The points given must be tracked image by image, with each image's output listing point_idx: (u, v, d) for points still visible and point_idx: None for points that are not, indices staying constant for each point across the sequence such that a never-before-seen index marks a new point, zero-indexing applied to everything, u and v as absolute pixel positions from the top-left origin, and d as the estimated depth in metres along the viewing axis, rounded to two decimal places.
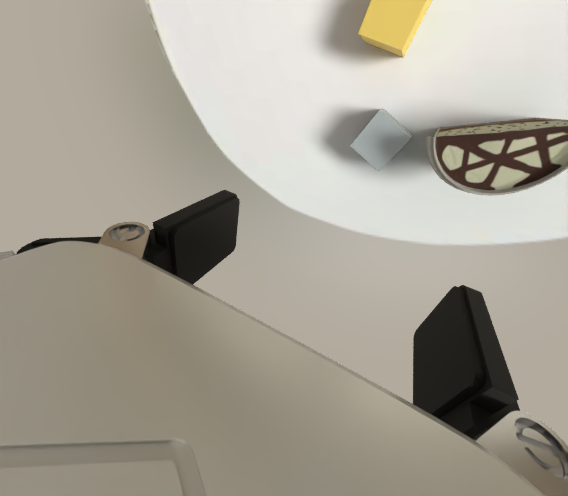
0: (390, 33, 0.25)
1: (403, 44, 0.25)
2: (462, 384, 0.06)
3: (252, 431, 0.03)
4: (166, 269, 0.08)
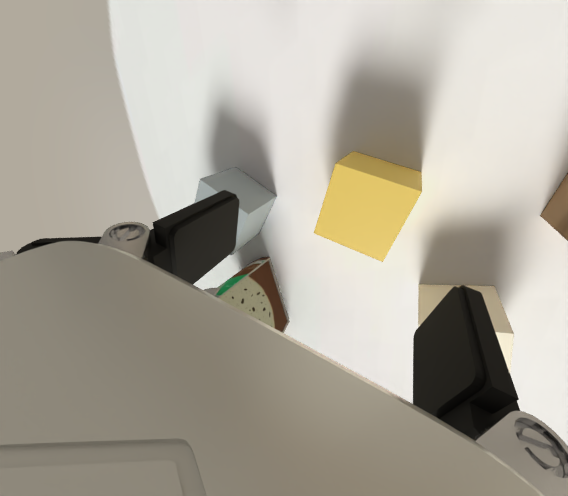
0: (333, 215, 0.16)
1: (320, 234, 0.17)
2: (462, 384, 0.06)
3: (252, 431, 0.03)
4: (166, 269, 0.08)
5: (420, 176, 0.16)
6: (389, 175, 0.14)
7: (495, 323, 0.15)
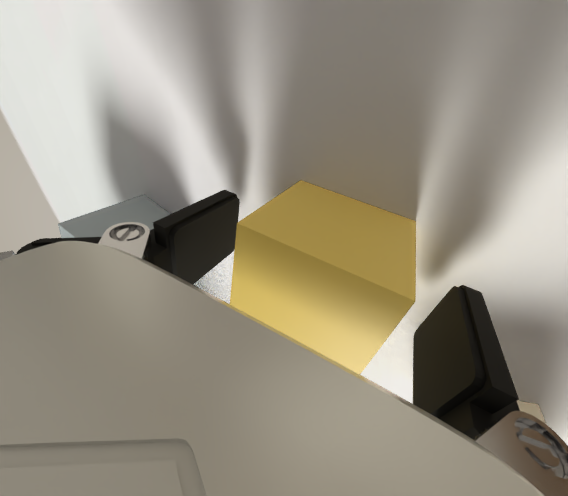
0: (251, 308, 0.09)
1: None
2: (462, 384, 0.06)
3: (252, 431, 0.03)
4: (166, 269, 0.08)
5: (413, 236, 0.08)
6: (349, 246, 0.07)
7: None
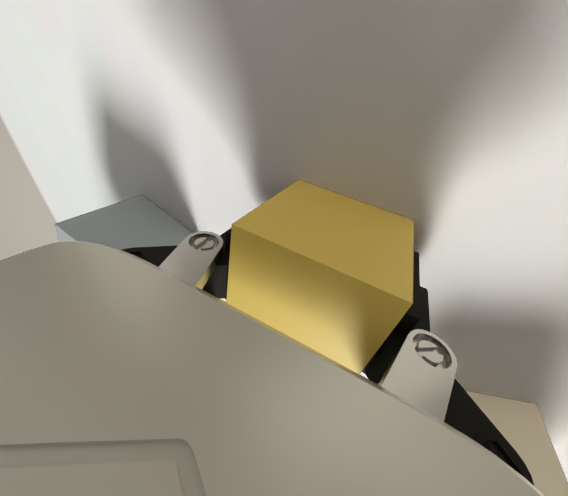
0: (247, 310, 0.08)
1: None
2: None
3: (252, 431, 0.03)
4: None
5: (411, 236, 0.08)
6: (346, 247, 0.07)
7: None
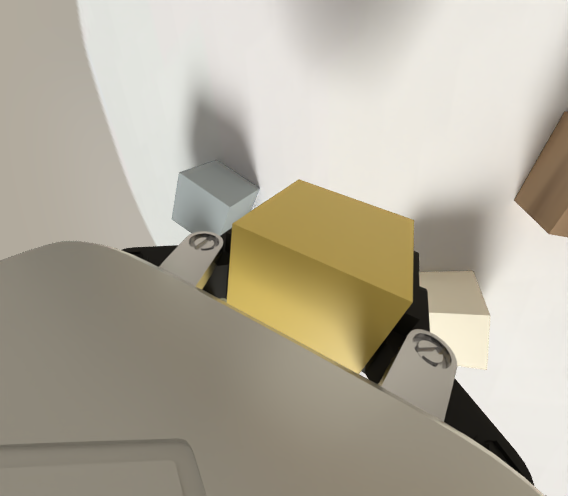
0: (247, 309, 0.08)
1: None
2: None
3: (252, 431, 0.03)
4: None
5: (411, 236, 0.08)
6: (346, 246, 0.07)
7: (473, 306, 0.16)
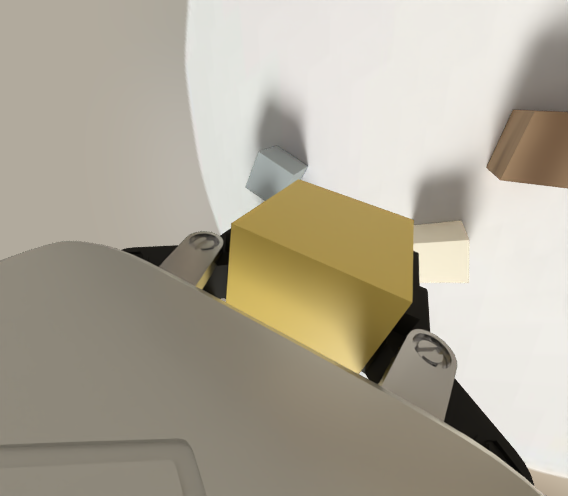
0: (247, 309, 0.08)
1: None
2: None
3: (252, 431, 0.03)
4: None
5: (411, 236, 0.08)
6: (346, 246, 0.07)
7: (459, 237, 0.24)
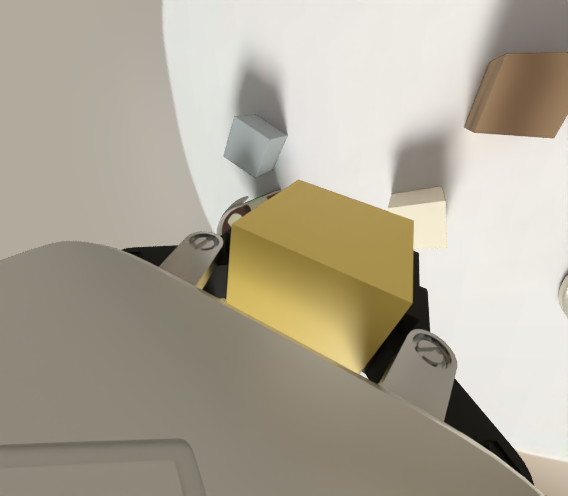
0: (247, 310, 0.08)
1: None
2: None
3: (252, 431, 0.03)
4: None
5: (411, 236, 0.08)
6: (346, 247, 0.07)
7: (436, 199, 0.23)
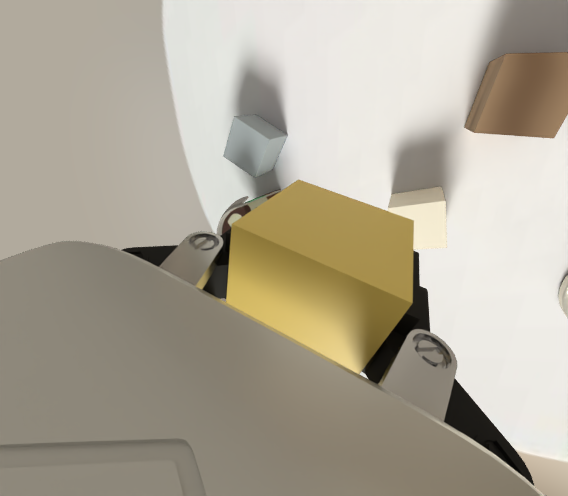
0: (247, 310, 0.08)
1: None
2: None
3: (252, 431, 0.03)
4: None
5: (411, 236, 0.08)
6: (346, 247, 0.07)
7: (436, 199, 0.23)
